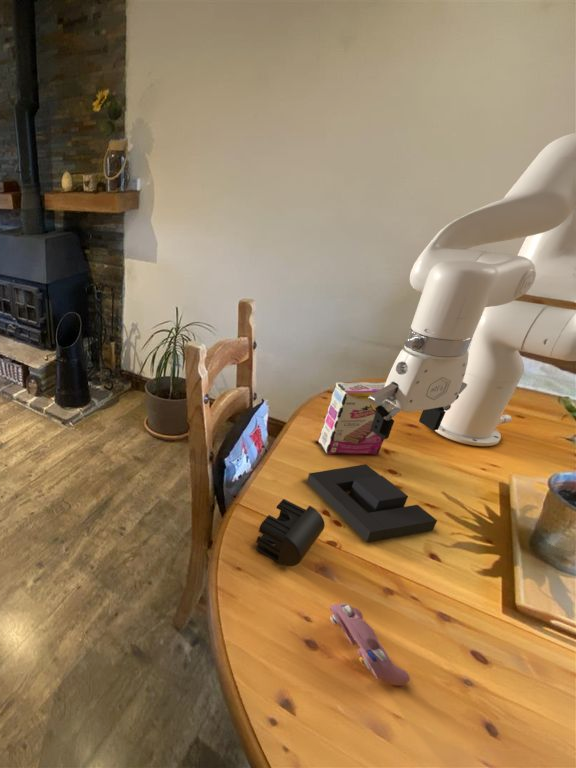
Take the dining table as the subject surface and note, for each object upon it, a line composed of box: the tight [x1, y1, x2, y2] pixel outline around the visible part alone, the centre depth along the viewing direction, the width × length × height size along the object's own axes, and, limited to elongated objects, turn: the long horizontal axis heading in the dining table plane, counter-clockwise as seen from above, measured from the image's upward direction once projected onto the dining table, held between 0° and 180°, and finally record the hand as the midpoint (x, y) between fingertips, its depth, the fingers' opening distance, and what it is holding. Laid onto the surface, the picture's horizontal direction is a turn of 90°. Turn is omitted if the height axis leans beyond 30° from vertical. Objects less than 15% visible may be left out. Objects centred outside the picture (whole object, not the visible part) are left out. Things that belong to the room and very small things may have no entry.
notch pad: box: [306, 463, 438, 543], centre depth 80 cm, size 13×16×2 cm
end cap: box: [255, 498, 326, 567], centre depth 72 cm, size 10×7×7 cm
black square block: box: [348, 474, 409, 513], centre depth 80 cm, size 6×6×4 cm
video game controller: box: [328, 602, 411, 687], centre depth 56 cm, size 10×5×7 cm, turn 5°
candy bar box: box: [318, 381, 396, 455], centre depth 92 cm, size 11×5×16 cm, turn 84°
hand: (403, 430), depth 74 cm, fingers open, 9 cm apart
